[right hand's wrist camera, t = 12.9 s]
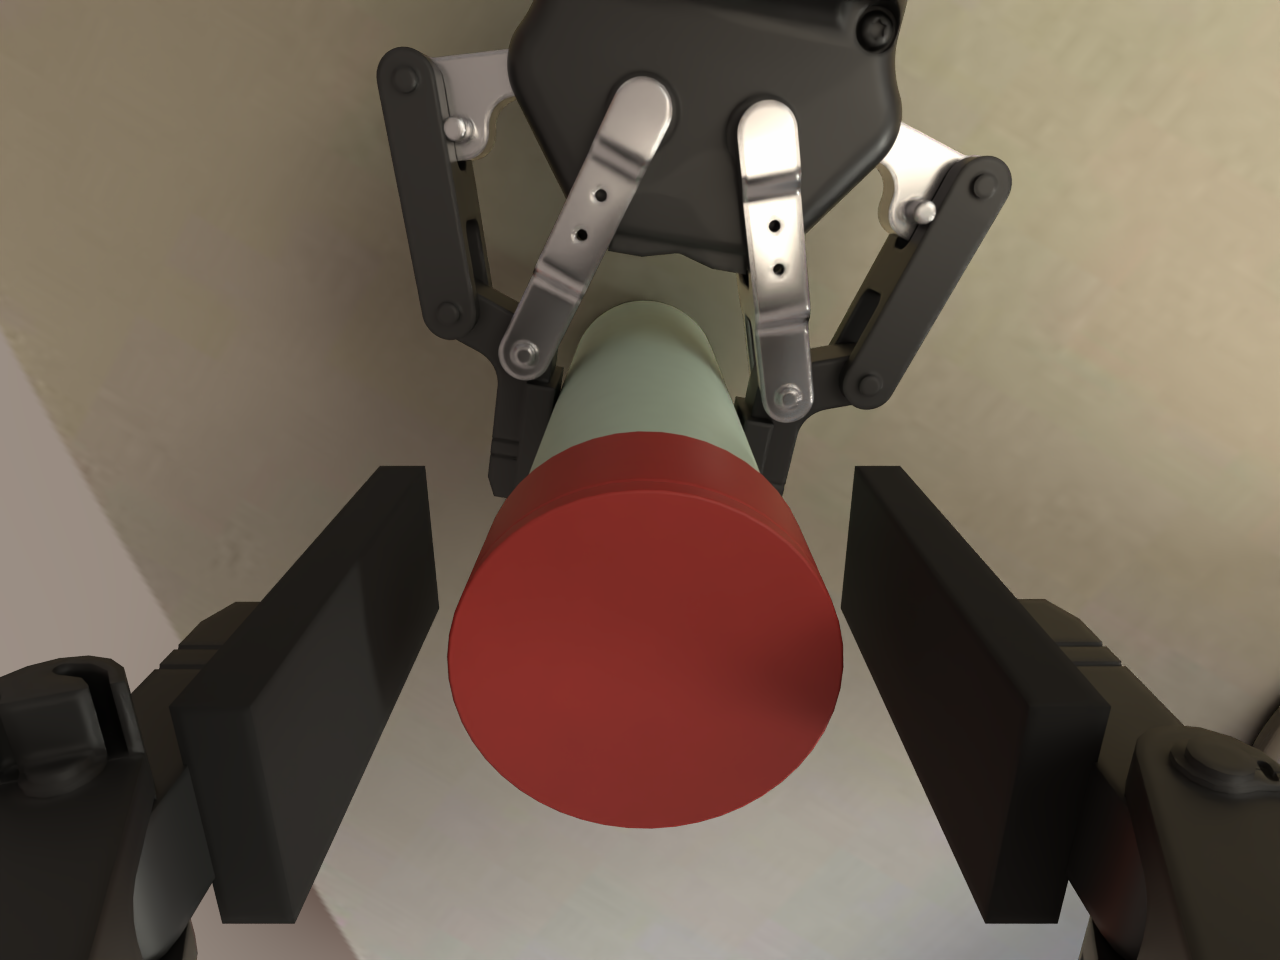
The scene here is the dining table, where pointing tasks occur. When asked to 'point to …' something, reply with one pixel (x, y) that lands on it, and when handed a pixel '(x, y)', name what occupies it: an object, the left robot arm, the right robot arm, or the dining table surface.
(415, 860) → the dining table surface
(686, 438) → the lid
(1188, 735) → the right robot arm
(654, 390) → the bottle
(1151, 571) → the dining table surface
